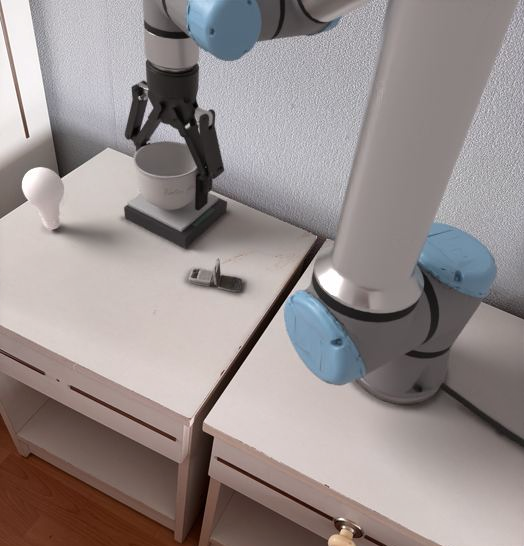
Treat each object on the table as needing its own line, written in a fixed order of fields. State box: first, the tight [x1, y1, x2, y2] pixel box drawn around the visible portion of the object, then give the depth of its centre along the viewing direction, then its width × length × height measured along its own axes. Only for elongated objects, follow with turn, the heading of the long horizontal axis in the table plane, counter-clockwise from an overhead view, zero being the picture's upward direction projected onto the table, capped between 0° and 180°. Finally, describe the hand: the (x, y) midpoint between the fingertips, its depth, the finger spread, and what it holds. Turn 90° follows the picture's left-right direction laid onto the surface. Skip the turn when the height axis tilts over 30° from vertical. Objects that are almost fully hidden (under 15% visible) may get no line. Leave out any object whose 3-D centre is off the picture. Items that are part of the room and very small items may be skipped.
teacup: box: [132, 140, 199, 210], centre depth 87 cm, size 14×11×8 cm
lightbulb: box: [21, 166, 65, 230], centre depth 83 cm, size 6×6×11 cm
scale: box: [123, 192, 228, 250], centre depth 92 cm, size 13×13×3 cm
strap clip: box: [188, 257, 243, 293], centre depth 82 cm, size 8×3×4 cm, turn 81°
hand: (174, 193), depth 90 cm, fingers closed on teacup, 11 cm apart
